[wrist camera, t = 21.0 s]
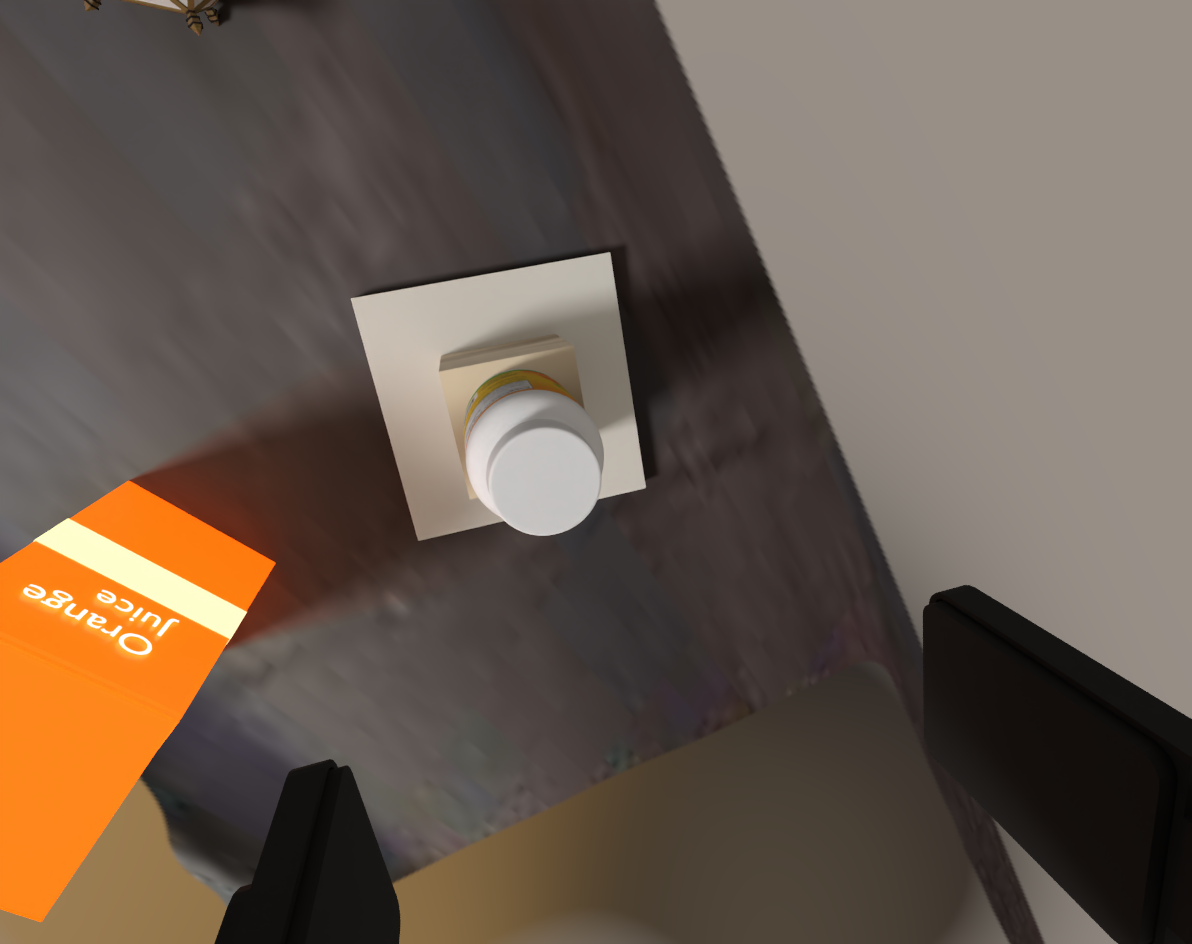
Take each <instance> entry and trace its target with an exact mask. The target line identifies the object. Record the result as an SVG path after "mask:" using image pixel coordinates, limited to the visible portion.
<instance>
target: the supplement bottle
mask: <svg viewBox="0 0 1192 944" xmlns="http://www.w3.org/2000/svg"><path fill="white" fill-rule="evenodd" d="M463 431H464V444H465V459H466V468H467V473H468V476H469V479H470V482H471V485H472V487H473V489H474V491H475V493H476V495H477V496H478V498H479V499H480V500H481V501H482V503H483V504H484V505H485V506H486V507H487V508H488V509H489V510H491V511H492V512H493V513H495V514H496V515H498V516H499V517H501V518H502V519H503V520H504V521H505V522H507V523H508V524H509V525H510V526H512V527H514V528H515V529H517V530H519V531H522V532H524V533H527V534H531V535H540V536H544V535H554V534H558V533H561V532H564V531H567V530H569V529H571V528H573V527H574V526H576V525H577V524H579V523H580V522H581V521H582V520H584V519H585V517H586V516H587V515H588V514H589V513H590V512H591V510H592V509H593V507H594V505H595V504H596V501H597V499H598V496H599V493H600V489H601V480H602V477H601V475H602V471H603V465H604V448H603V443H602V439H601V436H600V433H599V431H598V428H597V426H596V425H595V423H594V421H593V420H592V418H591V417H590V415H589V414H588V413H587V412H586V411H585V410H584V409H583V407H582V406H581V405H580V404H579V403H578V402H577V401H576V400H575V399H574V398H573V397H572V396H571V395H570V394H569V393H568V392H567V391H566V389H565V388H564V387H563V386H562V385H561V384H559V383H558V382H557V381H556V380H554V379H553V378H551V377H550V376H548V375H546V374H544V373H541V372H539V371H535V370H530V369H512V370H507V371H504V372H501V373H498V374H496V375H494V376H492V377H490V378H489V379H487V380H486V381H484V382H483V383H482V384H481V385H480V386H479V387H478V388H477V390H476V391H475V392H474V394H473V395H472V397H471V399H470V401H469V403H468V405H467V408H466V411H465V416H464V424H463Z"/></svg>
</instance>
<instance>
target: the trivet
mask: <svg viewBox="0 0 1192 944" xmlns="http://www.w3.org/2000/svg"><path fill="white" fill-rule="evenodd" d="M351 301H352V305H353V308H354V312H355V316H356V319H357V323H358V326H359V330H360V334H361V337H362V341H363V344H364V348H365V352H366V355H367V359H368V362H369V366H370V370H371V373H372V377H373V380H374V384H375V387H376V391H377V395H378V398H379V402H380V405H381V409H382V413H383V416H384V420H385V423H386V427H387V431H388V434H389V438H390V441H391V445H392V449H393V452H394V456H395V459H396V463H397V467H398V470H399V474H400V477H401V481H402V485H403V488H404V492H405V495H406V499H407V503H408V506H409V510H410V513H411V517H412V521H413V524H414V528H415V531H416V535H417V538H418V541H421V540H425V539H429V538H433V537H438V536H442V535H446V534H451V533H455V532H459V531H463V530H468V529H472V528H476V527H481V526H485V525H489V524H494V523H498V522H502V521H504V520H503V519H502V518H501V517H499V516H498V515H496V514H495V513H493V512H492V511H491V510H489V509H488V508H487V507H486V506H485V505H484V504H483V503H482V501H481V500H480V499H479V498H474V499H470V498H469V494H468V490H467V486H466V482H465V478H464V474H463V469H462V465H461V461H460V457H459V453H458V449H457V445H456V441H455V437H454V432H453V428H452V424H451V420H450V416H449V412H448V408H447V404H446V400H445V395H444V391H443V387H442V383H441V379H440V375H439V366H440V359H441V356H443V355H448V354H453V353H459V352H464V351H469V350H474V349H479V348H485V347H490V346H495V345H500V344H505V343H511V342H516V341H521V340H526V339H531V338H536V337H542V336H547V335H552V334H556V335H558V336H559V337H561V338H563V339H564V340H566V341H567V342H569V343H571V344H572V345H574V351H575V357H576V362H577V368H578V374H579V380H580V385H581V391H582V397H583V402H584V408H585V411H586V412H587V413H588V414H589V415H590V417H591V418H592V420H593V421H594V423H595V425H596V426H597V428H598V431H599V433H600V436H601V439H602V443H603V448H604V465H603V471H602V475H601V477H602V480H601V489H600V493H599V496H598V499H601V498H605V497H610V496H614V495H618V494H622V493H627V492H631V491H635V490H640V489H644V488H646V486H645V479H644V473H643V466H642V459H641V453H640V446H639V440H638V433H637V426H636V420H635V413H634V407H633V400H632V393H631V387H630V380H629V374H628V367H627V360H626V354H625V347H624V341H623V334H622V327H621V321H620V314H619V308H618V301H617V294H616V288H615V281H614V275H613V268H612V261H611V255H610V252H608V253H602V254H596V255H590V256H585V257H579V258H574V259H568V260H562V261H557V262H551V263H546V264H540V265H534V266H529V267H523V268H518V269H512V270H506V271H501V272H495V273H489V274H484V275H478V276H473V277H467V278H461V279H456V280H450V281H445V282H439V283H433V284H428V285H422V286H417V287H411V288H405V289H400V290H394V291H388V292H383V293H377V294H372V295H366V296H360V297H355V298H351Z"/></svg>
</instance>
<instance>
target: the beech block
mask: <svg viewBox="0 0 1192 944" xmlns="http://www.w3.org/2000/svg"><path fill="white" fill-rule="evenodd" d="M512 369H530V370H535V371H539V372H541V373H544V374H546V375H548V376H550V377H551V378H553V379H554V380H556V381H557V382H558V383H559V384H561V385H562V386H563V387H564V388H565V389H566V391H567V392H568V393H569V394H570V395H571V396H572V397H573V398H574V399H575V400H576V401H577V402H578V403H579V404H580V405H581V406H582V407H583V409H584V410H585V408H584V402H583V397H582V391H581V385H580V380H579V374H578V368H577V362H576V357H575V351H574V345H572V344H571V343H569V342H567V341H566V340H564V339H563V338H561V337H559V336H558V335H556V334H552V335H547V336H542V337H536V338H531V339H526V340H521V341H516V342H511V343H505V344H500V345H495V346H490V347H485V348H479V349H474V350H469V351H464V352H459V353H453V354H448V355H443V356H441V359H440V366H439V375H440V379H441V383H442V387H443V391H444V395H445V400H446V404H447V408H448V412H449V416H450V420H451V424H452V428H453V432H454V437H455V441H456V445H457V449H458V453H459V457H460V461H461V465H462V469H463V474H464V478H465V482H466V486H467V490H468V494H469V498H470V499H474V498H478V496H477V495H476V493H475V491H474V489H473V487H472V485H471V482H470V479H469V476H468V473H467V468H466V459H465V444H464V431H463V424H464V416H465V411H466V408H467V405H468V403H469V401H470V399H471V397H472V395H473V394H474V392H475V391H476V390H477V388H478V387H479V386H480V385H481V384H482V383H483V382H484V381H486V380H487V379H489V378H490V377H492V376H494V375H496V374H498V373H501V372H504V371H507V370H512Z"/></svg>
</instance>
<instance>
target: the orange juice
mask: <svg viewBox="0 0 1192 944" xmlns="http://www.w3.org/2000/svg"><path fill="white" fill-rule="evenodd" d="M274 565H275V562H273V561H272V560H270V559H268V558H266V557H265V556H263V555H261V554H259V553H257V552H256V551H254V550H252V549H250V548H248V547H247V546H245V545H243V544H241V543H240V542H238V541H236V540H234V539H232V538H231V537H229V536H227V535H225V534H223V533H222V532H220V531H218V530H216V529H215V528H213V527H211V526H209V525H207V524H206V523H204V522H202V521H200V520H198V519H197V518H195V517H193V516H191V515H190V514H188V513H186V512H184V511H182V510H181V509H179V508H177V507H175V506H173V505H172V504H170V503H168V502H166V501H165V500H163V499H161V498H159V497H157V496H156V495H154V494H152V493H150V492H148V491H147V490H145V489H143V488H141V487H140V486H138V485H136V484H134V483H132V482H131V481H127V482H126V483H124V484H123V485H121V486H120V487H118V488H116V489H115V490H113V491H112V492H110V493H109V494H107V495H106V496H104V497H103V498H101V499H99V500H98V501H96V502H95V503H93V504H92V505H90V506H89V507H87V508H85V509H84V510H82V511H81V512H79V513H78V514H76V515H75V516H73V517H72V518H70V519H69V518H68V519H66V520H65V521H63V522H62V523H60V524H58V525H57V526H55V527H54V528H52V529H51V530H49V531H47V532H46V533H44V534H43V535H41V536H40V537H38V538H37V539H35V540H34V542H33V543H31V544H30V545H28V546H27V547H25V548H23V549H22V550H20V551H19V552H17V553H16V554H14V555H13V556H11V557H10V558H8V559H6V560H5V561H3V562H2V563H0V909H2V910H5V911H8V912H11V913H14V914H17V915H21V916H24V917H27V918H30V919H33V920H36V921H39V922H42V920H43V919H44V917H45V916H46V915H47V913H48V912H49V910H50V909H51V907H52V906H53V904H54V903H55V901H56V900H57V898H58V897H59V895H60V894H61V892H62V891H63V889H64V888H65V886H66V885H67V883H68V882H69V880H70V879H71V878H72V876H73V875H74V873H75V872H76V870H77V869H78V867H79V866H80V864H81V863H82V861H83V860H84V858H85V857H86V855H87V854H88V852H89V851H90V849H91V848H92V846H93V845H94V843H95V842H96V841H97V839H98V837H99V836H100V834H101V833H102V832H103V830H104V829H105V827H106V826H107V824H108V823H109V821H110V820H111V818H112V817H113V815H114V814H115V812H116V811H117V809H118V808H119V806H120V805H121V803H122V802H123V801H124V799H125V797H126V796H127V795H128V793H129V792H130V790H131V789H132V787H133V786H134V784H135V783H136V781H137V780H138V778H139V777H140V775H141V774H142V772H143V771H144V769H145V768H146V766H147V765H148V764H149V762H150V761H151V759H152V758H153V756H154V755H155V753H156V752H157V750H158V749H159V748H160V746H161V745H162V744H163V742H164V741H165V740H166V738H167V737H168V736H169V734H170V733H171V732H172V730H173V729H174V728H175V726H176V725H177V724H178V723H179V721H180V720H181V718H182V716H183V715H184V713H185V711H186V710H187V708H188V706H189V705H190V703H191V702H192V700H193V698H194V697H195V695H196V693H197V692H198V690H199V688H200V687H201V685H202V683H203V682H204V680H205V678H206V677H207V675H208V674H209V672H210V670H211V669H212V667H213V665H214V664H215V662H216V660H217V659H218V657H219V655H220V654H221V652H222V651H223V649H224V647H225V646H226V645H227V643H228V642H229V641H230V639H231V638H232V636H233V634H234V633H235V631H236V629H237V628H238V626H239V625H240V623H241V621H242V620H243V618H244V616H245V615H246V613H247V612H246V611H247V609H248V608H249V606H250V605H251V603H252V601H253V600H254V598H255V596H256V595H257V593H258V591H259V590H260V588H261V586H262V585H263V583H264V582H265V580H266V578H267V577H268V575H269V573H270V572H271V570H272V568H273V567H274Z"/></svg>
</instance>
